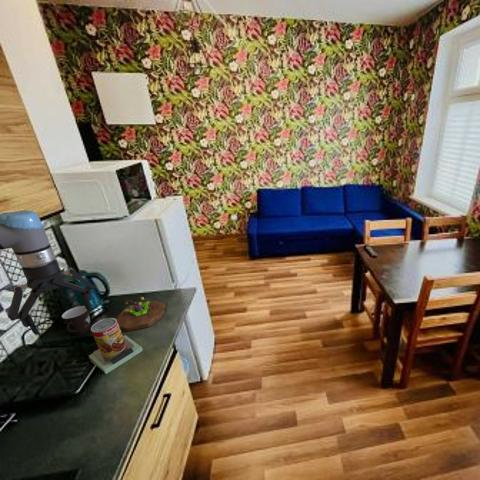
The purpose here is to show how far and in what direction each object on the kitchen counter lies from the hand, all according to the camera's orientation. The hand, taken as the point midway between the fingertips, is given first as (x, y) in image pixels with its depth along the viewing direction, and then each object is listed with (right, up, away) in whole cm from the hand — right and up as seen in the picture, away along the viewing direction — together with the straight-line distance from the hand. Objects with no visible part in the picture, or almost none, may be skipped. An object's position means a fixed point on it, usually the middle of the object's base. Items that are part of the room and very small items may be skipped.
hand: (64, 320), depth 87 cm
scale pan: (+3, -17, +18) cm, 25 cm away
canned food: (+3, -17, +17) cm, 24 cm away
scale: (+4, -20, +18) cm, 28 cm away
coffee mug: (-23, -15, +31) cm, 42 cm away
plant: (-2, -11, +41) cm, 42 cm away
